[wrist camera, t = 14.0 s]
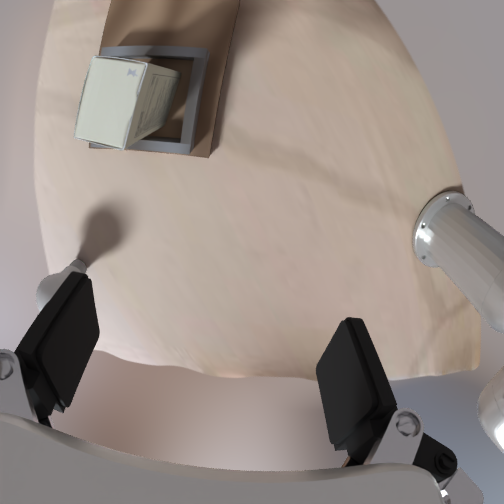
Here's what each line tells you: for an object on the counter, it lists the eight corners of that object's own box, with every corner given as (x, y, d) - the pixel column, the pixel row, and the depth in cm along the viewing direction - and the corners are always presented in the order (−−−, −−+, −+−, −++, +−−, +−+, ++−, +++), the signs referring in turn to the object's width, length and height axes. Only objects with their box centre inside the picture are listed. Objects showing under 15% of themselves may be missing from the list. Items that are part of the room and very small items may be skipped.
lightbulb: (73, 237, 34) (33, 284, 25) (106, 263, 37) (75, 316, 27) (59, 264, 36) (24, 312, 27) (89, 288, 38) (61, 340, 29)
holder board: (239, 4, 22) (240, -10, 18) (209, 155, 30) (206, 164, 27) (116, 2, 20) (101, -9, 16) (94, 145, 28) (76, 153, 25)
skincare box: (144, 64, 23) (92, 49, 13) (183, 72, 24) (151, 57, 14) (127, 120, 26) (69, 139, 16) (164, 129, 27) (123, 152, 17)
